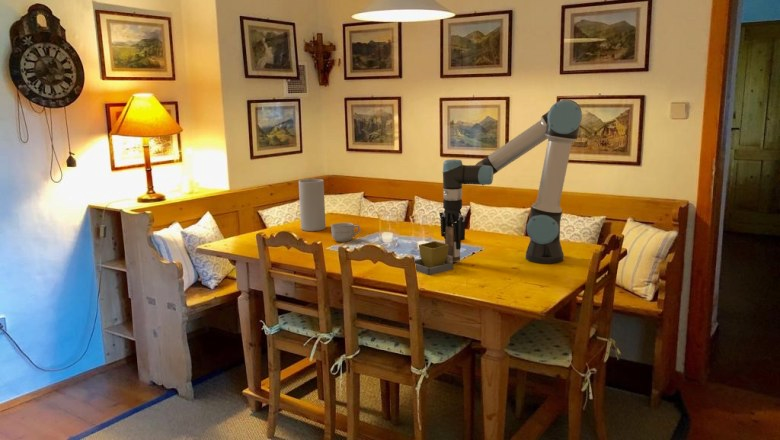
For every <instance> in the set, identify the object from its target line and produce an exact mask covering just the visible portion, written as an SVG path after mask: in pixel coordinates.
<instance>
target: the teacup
mask: <svg viewBox="0 0 780 440" xmlns="http://www.w3.org/2000/svg"><path fill="white" fill-rule="evenodd" d="M330 228H331V229H330V230H331V232H330V233H331V237H332V238H333V239H334V240H335V241H336V242H338V243H339V242H340V243H341V242H343V243H344V242H349V241H351V240H352V239H353V238H355V236H356V235H358V234H359V233H360V232H361V229H362V228H361V227H360V225H359V224H354V223H352V222H339V223H337V222H336V223H332V224H330ZM356 228H357V229H358V230H357V231H356V232H355V229H356Z"/></svg>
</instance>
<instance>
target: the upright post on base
mask: <svg viewBox="0 0 780 440" xmlns="http://www.w3.org/2000/svg"><path fill="white" fill-rule="evenodd" d="M454 240H455V236H454V228H453V225H452V226H448V227H446V244H448V245H449V247H448V255H447V259H446V261H445V263H444V264H448V263H453V264H454V263H455V262H460V261H461V255H460V256H459V257H454Z"/></svg>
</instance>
